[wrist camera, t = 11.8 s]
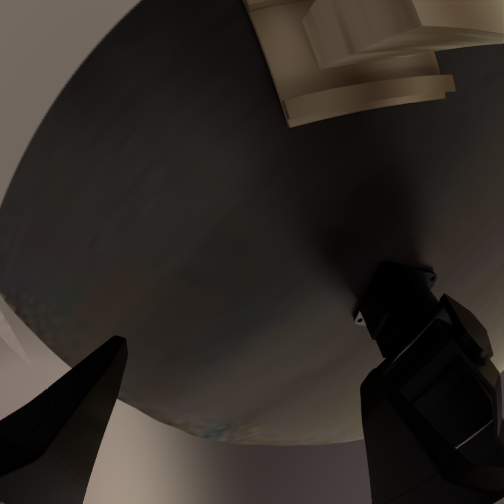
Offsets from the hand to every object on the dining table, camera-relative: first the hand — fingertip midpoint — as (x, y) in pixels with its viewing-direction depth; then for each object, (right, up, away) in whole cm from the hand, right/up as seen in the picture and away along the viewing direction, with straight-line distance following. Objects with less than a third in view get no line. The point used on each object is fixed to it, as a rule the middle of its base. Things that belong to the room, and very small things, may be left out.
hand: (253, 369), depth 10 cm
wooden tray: (+7, +18, +5) cm, 20 cm away
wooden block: (+6, +17, +4) cm, 19 cm away
